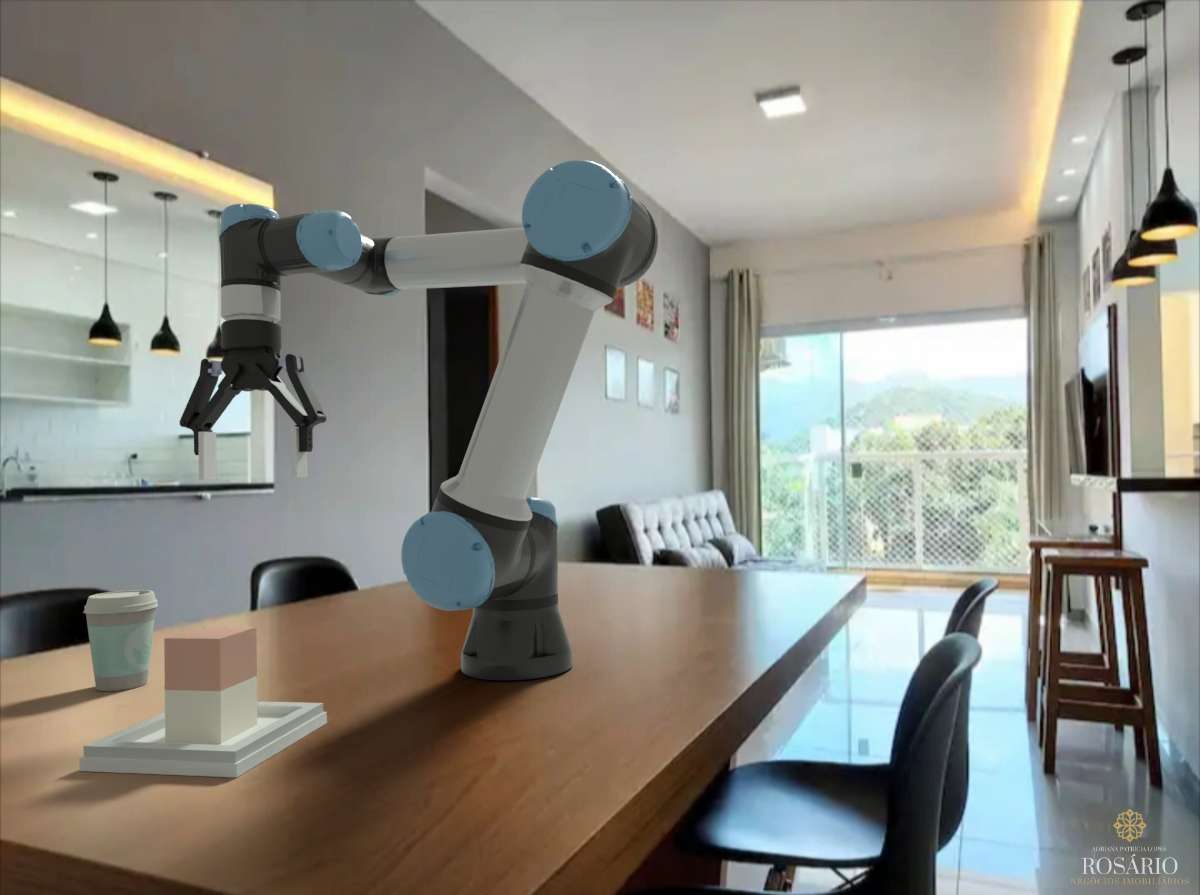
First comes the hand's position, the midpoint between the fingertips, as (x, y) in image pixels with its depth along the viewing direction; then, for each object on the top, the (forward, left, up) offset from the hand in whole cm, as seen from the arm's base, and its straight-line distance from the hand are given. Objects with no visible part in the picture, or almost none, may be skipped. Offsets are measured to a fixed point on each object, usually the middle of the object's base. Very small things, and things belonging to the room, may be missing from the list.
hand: (253, 478), depth 110 cm
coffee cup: (+16, +5, -27) cm, 32 cm away
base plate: (-12, +26, -27) cm, 39 cm away
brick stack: (-12, +26, -26) cm, 38 cm away
